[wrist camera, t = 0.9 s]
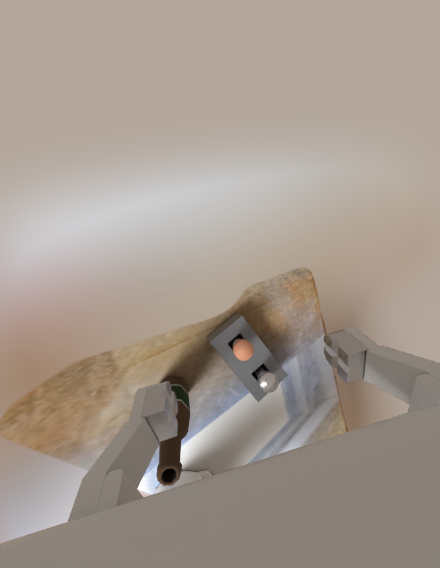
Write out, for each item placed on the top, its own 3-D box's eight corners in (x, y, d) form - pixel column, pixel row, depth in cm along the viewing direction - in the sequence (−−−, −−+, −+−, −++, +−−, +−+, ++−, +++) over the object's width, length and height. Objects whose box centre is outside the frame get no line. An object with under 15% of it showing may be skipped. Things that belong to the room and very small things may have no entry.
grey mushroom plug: (270, 372, 56) (282, 383, 50) (258, 383, 55) (267, 396, 49) (261, 359, 55) (271, 369, 49) (248, 371, 55) (256, 382, 49)
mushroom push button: (248, 343, 54) (257, 351, 48) (235, 354, 54) (242, 364, 48) (238, 330, 54) (246, 337, 48) (224, 341, 53) (230, 350, 47)
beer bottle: (152, 380, 54) (133, 463, 30) (183, 370, 55) (188, 441, 31) (161, 409, 54) (149, 512, 31) (191, 398, 56) (202, 488, 32)
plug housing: (278, 367, 60) (287, 375, 55) (251, 391, 59) (258, 402, 54) (236, 312, 57) (242, 315, 52) (206, 336, 56) (209, 342, 51)
